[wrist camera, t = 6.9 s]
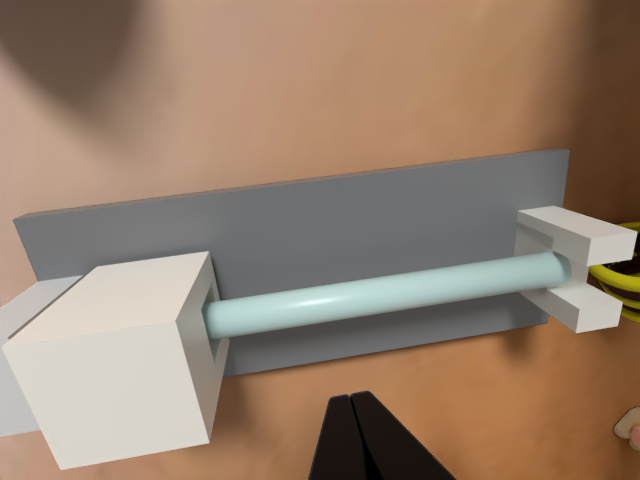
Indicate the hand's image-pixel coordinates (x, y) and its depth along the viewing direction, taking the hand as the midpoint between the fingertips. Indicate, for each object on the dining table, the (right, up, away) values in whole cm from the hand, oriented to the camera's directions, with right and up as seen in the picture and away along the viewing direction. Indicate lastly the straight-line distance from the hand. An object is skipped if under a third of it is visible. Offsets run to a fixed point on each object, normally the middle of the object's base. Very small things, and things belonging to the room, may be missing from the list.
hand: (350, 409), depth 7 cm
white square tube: (-8, 0, +10) cm, 13 cm away
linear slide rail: (-1, +2, +12) cm, 12 cm away
